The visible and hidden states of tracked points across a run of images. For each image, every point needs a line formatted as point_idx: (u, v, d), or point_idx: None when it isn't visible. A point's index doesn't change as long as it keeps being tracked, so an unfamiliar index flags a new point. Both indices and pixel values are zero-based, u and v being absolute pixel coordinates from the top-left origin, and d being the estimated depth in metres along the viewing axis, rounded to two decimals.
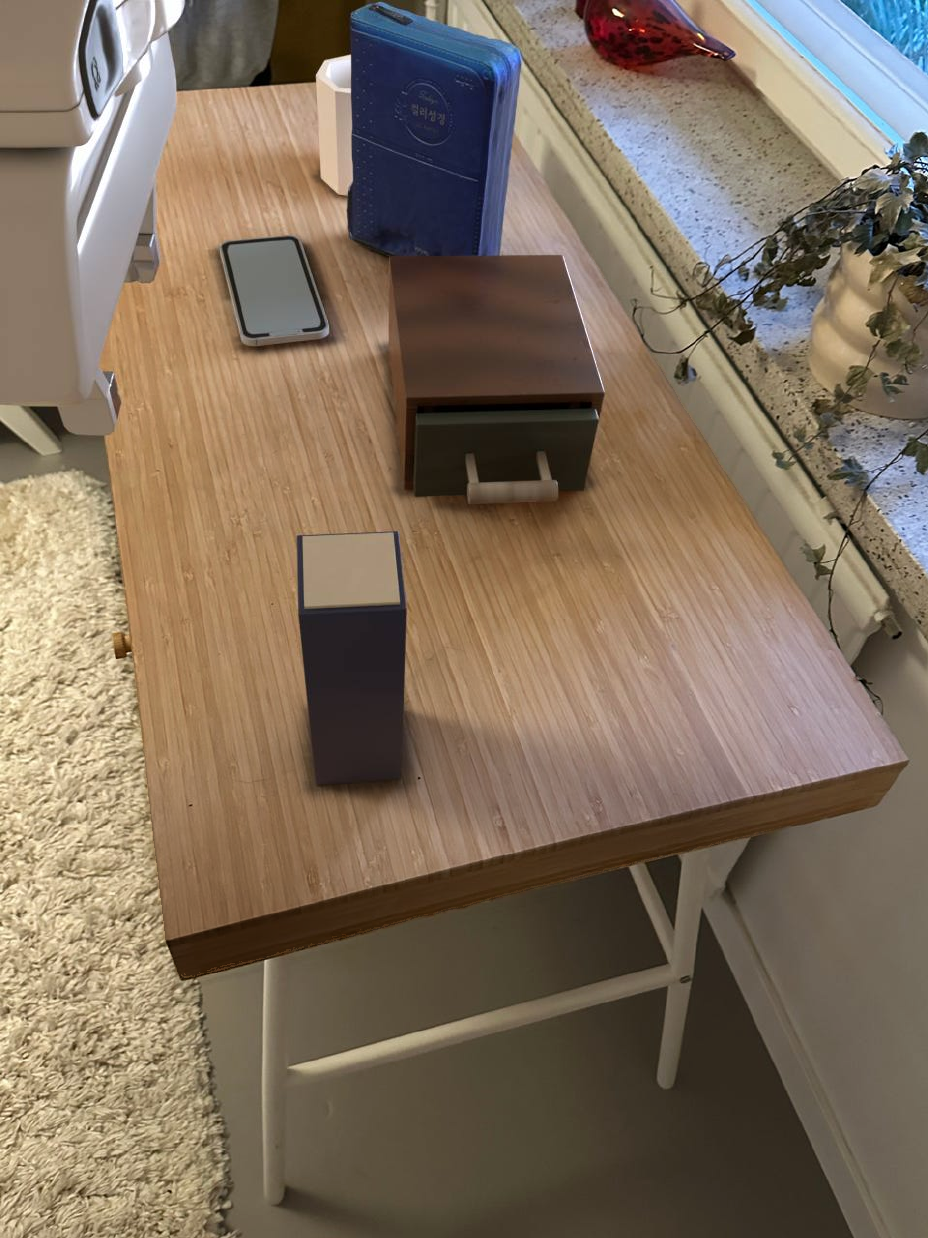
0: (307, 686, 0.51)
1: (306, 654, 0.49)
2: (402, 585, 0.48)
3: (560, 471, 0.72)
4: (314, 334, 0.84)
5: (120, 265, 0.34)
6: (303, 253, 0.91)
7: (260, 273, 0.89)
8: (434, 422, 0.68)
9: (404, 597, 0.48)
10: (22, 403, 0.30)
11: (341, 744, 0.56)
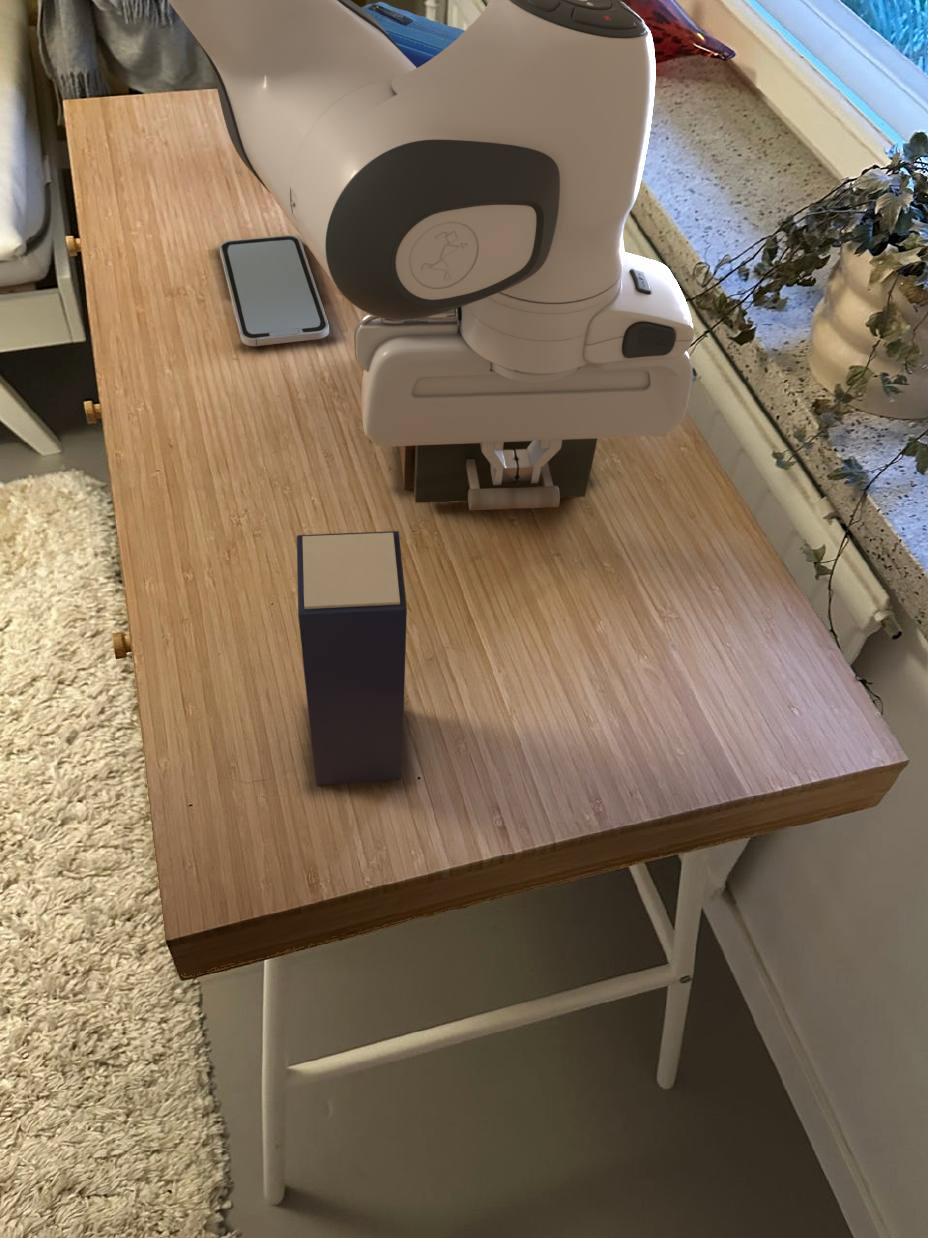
0: (307, 686, 0.51)
1: (306, 654, 0.49)
2: (402, 585, 0.48)
3: (561, 477, 0.72)
4: (314, 334, 0.84)
5: None
6: (303, 253, 0.91)
7: (260, 273, 0.89)
8: None
9: (404, 597, 0.48)
10: None
11: (341, 744, 0.56)
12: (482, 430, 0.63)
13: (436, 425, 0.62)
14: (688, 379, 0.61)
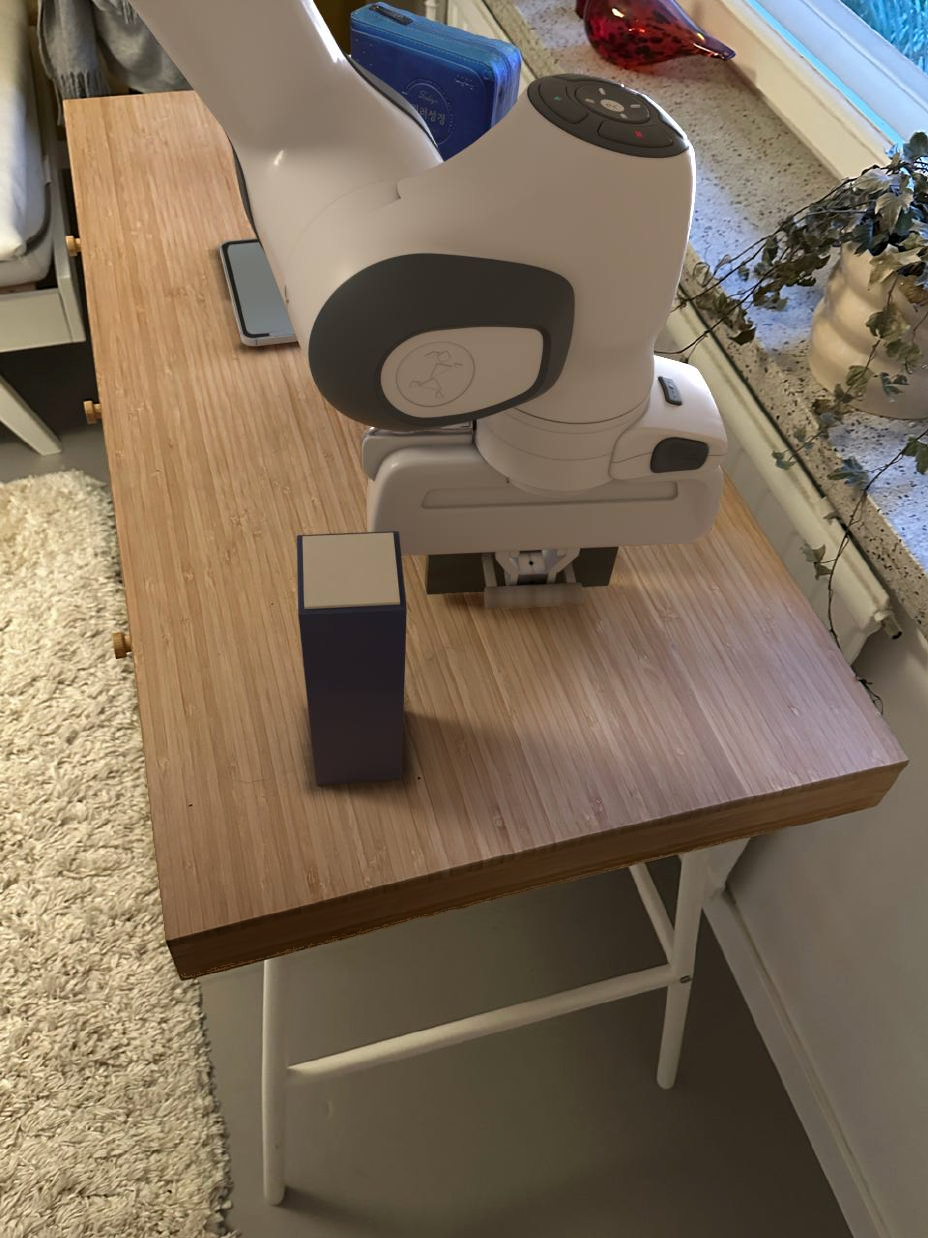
0: (307, 686, 0.51)
1: (306, 654, 0.49)
2: (402, 585, 0.48)
3: (584, 567, 0.67)
4: None
5: None
6: None
7: (260, 273, 0.89)
8: None
9: (404, 597, 0.48)
10: None
11: (341, 744, 0.56)
12: (496, 540, 0.58)
13: (447, 536, 0.57)
14: (719, 490, 0.56)
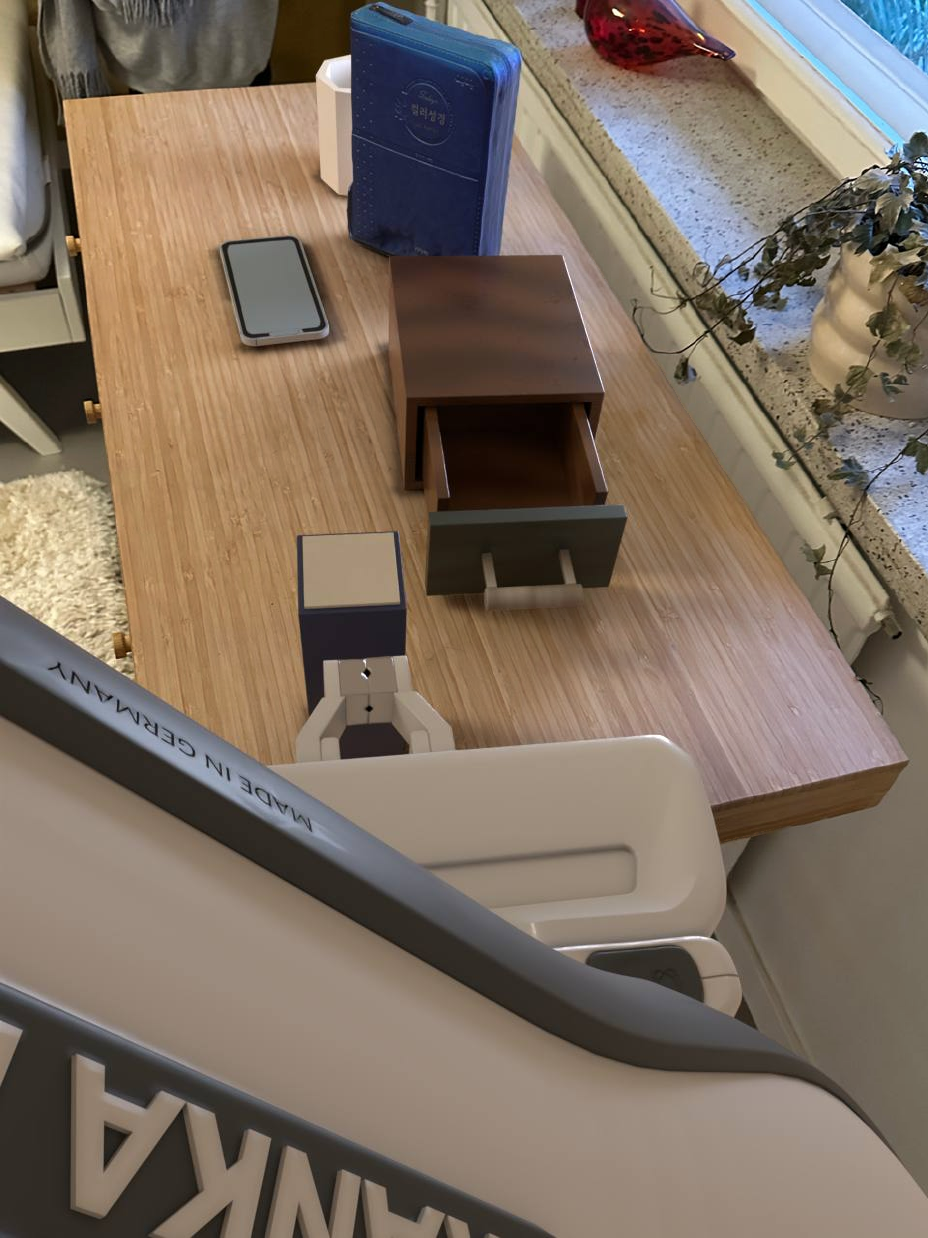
0: (307, 686, 0.51)
1: (306, 654, 0.49)
2: (402, 585, 0.48)
3: (584, 568, 0.67)
4: (314, 334, 0.84)
5: (495, 770, 0.31)
6: (303, 253, 0.91)
7: (260, 273, 0.89)
8: (449, 522, 0.62)
9: (404, 597, 0.48)
10: None
11: (341, 744, 0.56)
12: None
13: None
14: None
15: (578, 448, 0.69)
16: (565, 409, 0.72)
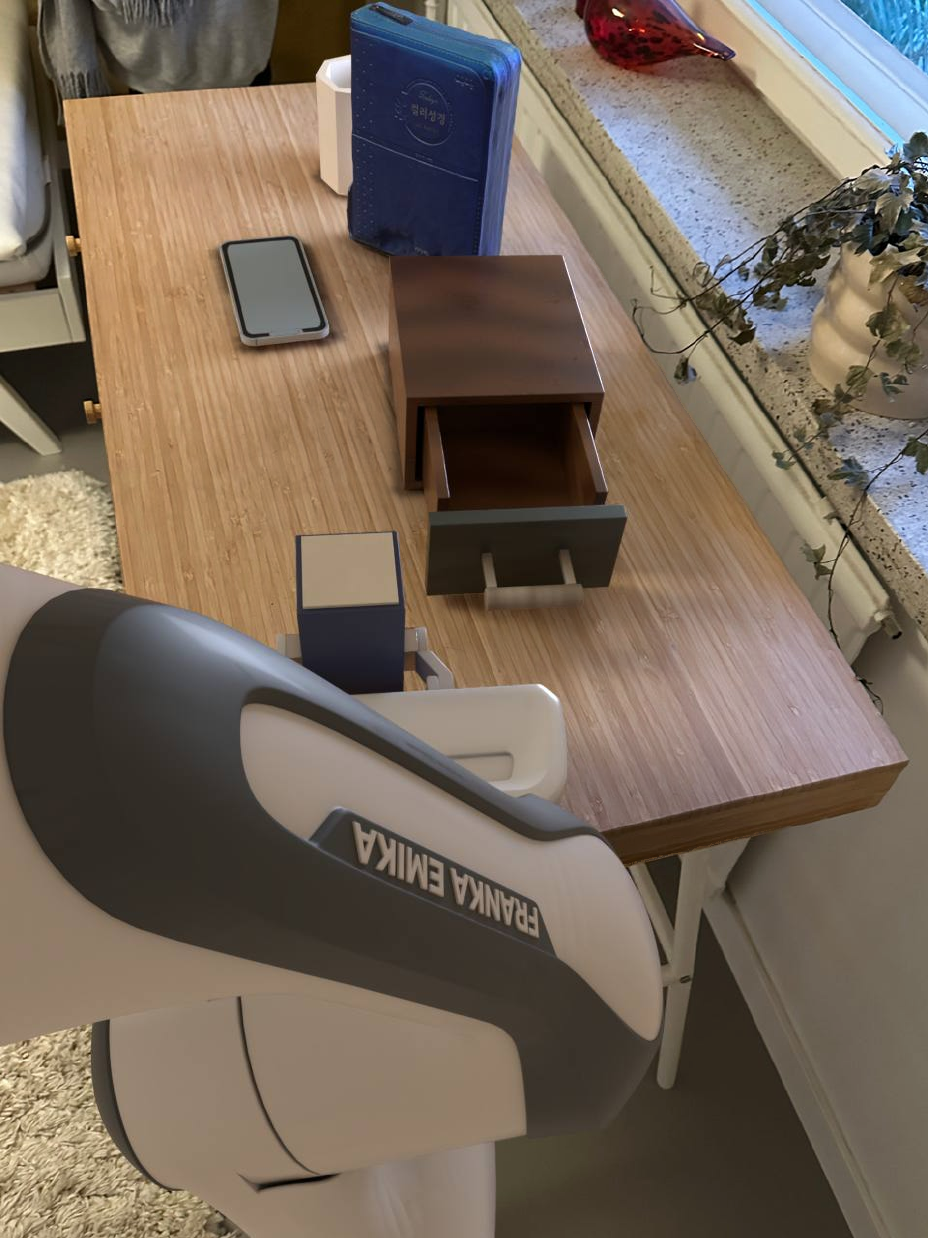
0: None
1: (304, 654, 0.49)
2: (401, 585, 0.48)
3: (584, 568, 0.67)
4: (314, 334, 0.84)
5: (429, 704, 0.49)
6: (303, 253, 0.91)
7: (260, 273, 0.89)
8: (449, 522, 0.62)
9: (403, 597, 0.48)
10: None
11: None
12: None
13: None
14: None
15: (578, 448, 0.69)
16: (565, 409, 0.72)
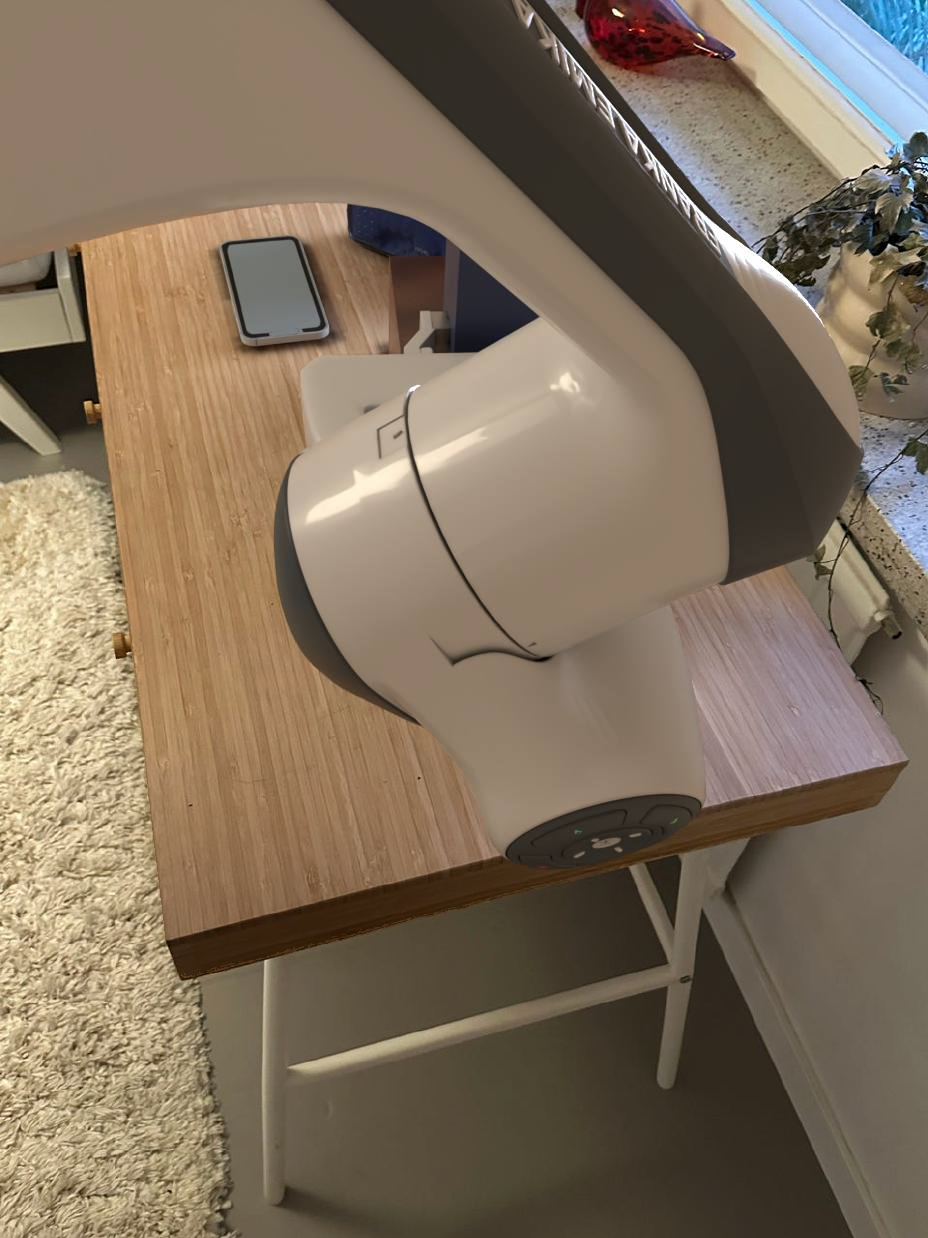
0: None
1: (460, 306, 0.48)
2: None
3: None
4: (314, 334, 0.84)
5: None
6: (303, 253, 0.91)
7: (260, 273, 0.89)
8: None
9: None
10: None
11: None
12: None
13: None
14: None
15: None
16: None
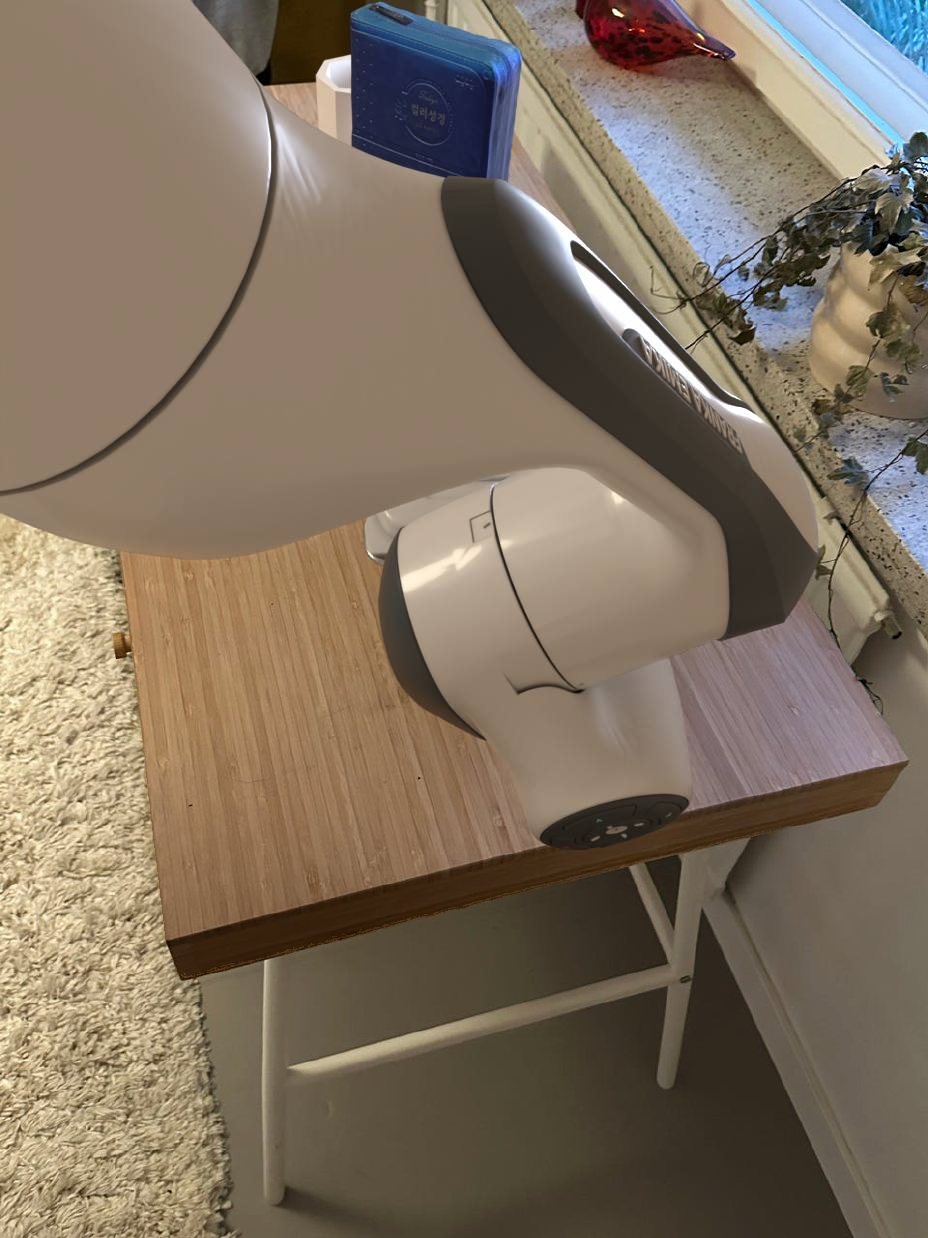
0: None
1: None
2: None
3: None
4: None
5: None
6: None
7: None
8: None
9: None
10: None
11: None
12: None
13: None
14: None
15: None
16: None
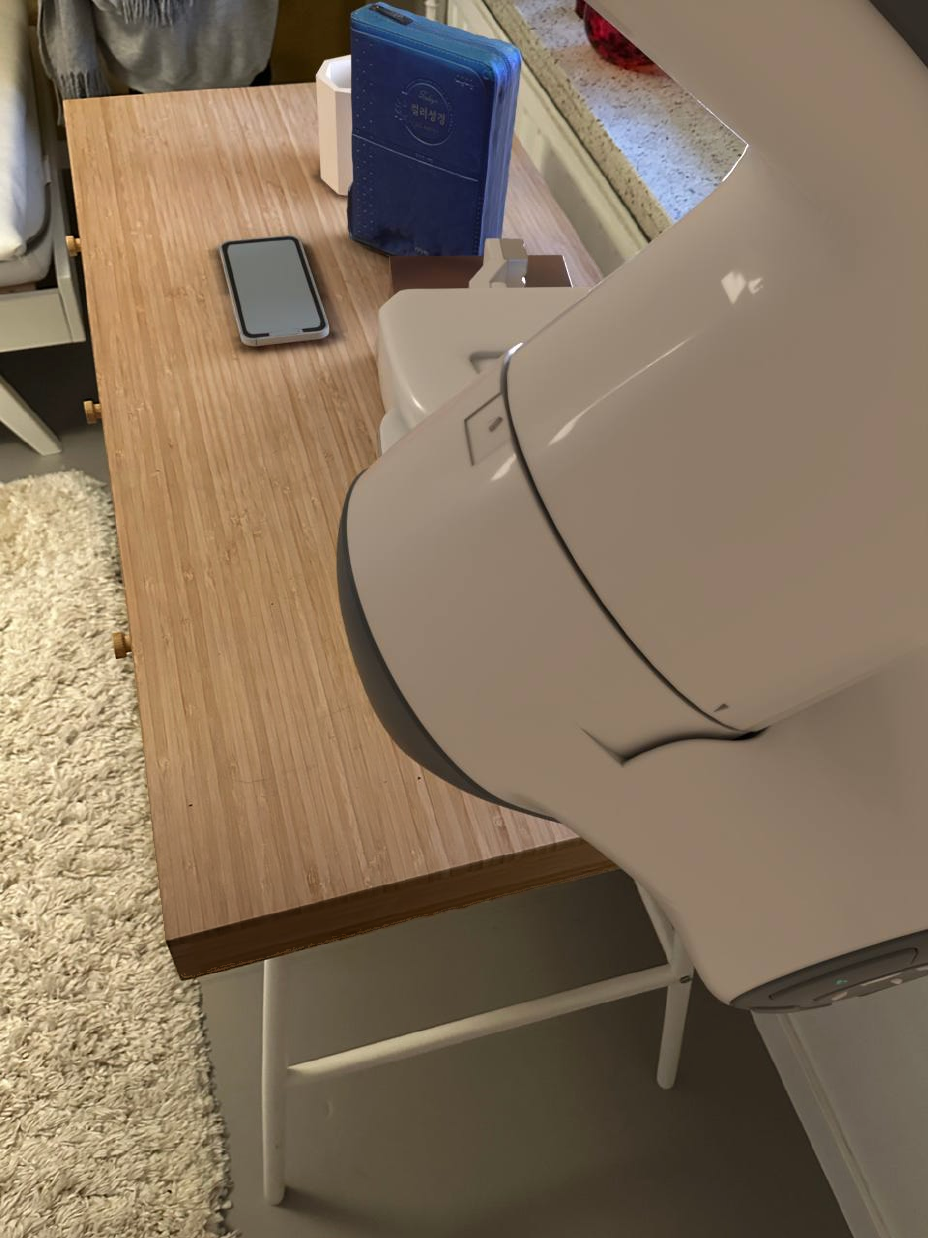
0: None
1: None
2: None
3: None
4: (314, 334, 0.84)
5: None
6: (303, 253, 0.91)
7: (260, 273, 0.89)
8: None
9: None
10: None
11: None
12: None
13: None
14: None
15: None
16: None
